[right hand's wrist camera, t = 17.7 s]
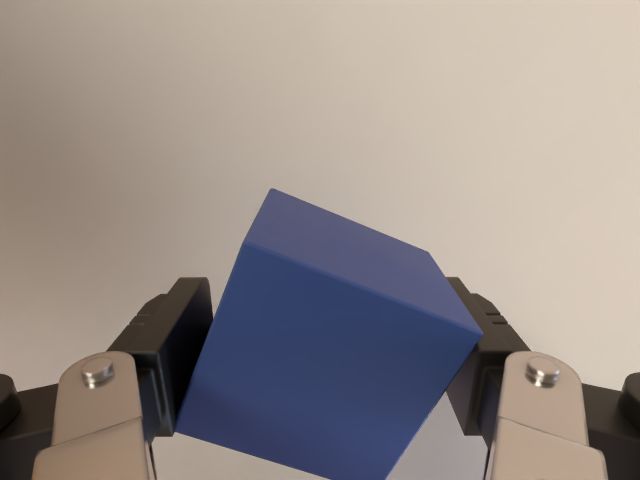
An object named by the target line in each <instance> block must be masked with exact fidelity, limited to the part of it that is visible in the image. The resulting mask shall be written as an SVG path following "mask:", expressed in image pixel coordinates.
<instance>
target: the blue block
mask: <svg viewBox="0 0 640 480" xmlns="http://www.w3.org/2000/svg"><path fill="white" fill-rule="evenodd" d="M482 336H483V332H482V330H481V329H480V327H479V326H478V324H477V323H476V322H475V320H474V319H473V317H472V316H471V314H470V313H469V311H468V310H467V308H466V307H465V305H464V304H463V302H462V301H461V299H460V298H459V296H458V295H457V293H456V292H455V290H454V289H453V288H452V286H451V285H450V283H449V282H448V280H447V279H446V277H445V276H444V274H443V273H442V271H441V270H440V268H439V267H438V265H437V264H436V262H435V261H434V259H433V258H432V256H431V255H430V254H429V252H427V251H424V250H422V249H420V248H417V247H415V246H412V245H410V244H407V243H405V242H402V241H400V240H398V239H395V238H393V237H390V236H388V235H385V234H383V233H381V232H378V231H376V230H373V229H371V228H368V227H366V226H363V225H361V224H359V223H356V222H354V221H351V220H349V219H346V218H344V217H342V216H339V215H337V214H334V213H332V212H329V211H327V210H324V209H322V208H320V207H317V206H315V205H312V204H310V203H307V202H305V201H303V200H300V199H298V198H295V197H293V196H290V195H288V194H285V193H283V192H281V191H278V190H276V189H272V188H271V189H270V191H269V192H268V194H267V196H266V198H265V200H264V202H263V204H262V206H261V208H260V210H259V212H258V214H257V216H256V218H255V220H254V222H253V223H252V225H251V227H250V229H249V231H248V233H247V235H246V237H245V239H244V241H243V243H242V246H241V248H240V251H239V253H238V256H237V259H236V261H235V264H234V267H233V269H232V272H231V275H230V277H229V280H228V282H227V285H226V288H225V290H224V293H223V296H222V298H221V301H220V303H219V306H218V309H217V311H216V314H215V317H214V319H213V322H212V325H211V327H210V330H209V332H208V335H207V338H206V340H205V343H204V346H203V348H202V351H201V353H200V356H199V359H198V361H197V364H196V367H195V369H194V372H193V374H192V377H191V380H190V382H189V385H188V388H187V390H186V393H185V396H184V398H183V401H182V403H181V406H180V409H179V411H178V414H177V417H176V426H177V427H176V430H175V432H177V433H181V434H184V435H187V436H191V437H194V438H197V439H200V440H204V441H207V442H210V443H213V444H217V445H220V446H223V447H226V448H230V449H233V450H236V451H239V452H243V453H246V454H249V455H252V456H256V457H259V458H262V459H266V460H269V461H272V462H275V463H279V464H282V465H285V466H288V467H292V468H295V469H298V470H301V471H305V472H308V473H311V474H314V475H318V476H321V477H324V478H328V479H331V480H385V479H386V478H387V477H388V475H389V474H390V472H391V471H392V469H393V468H394V466H395V465H396V463H397V462H398V460H399V459H400V457H401V456H402V454H403V453H404V451H405V450H406V448H407V447H408V445H409V444H410V443H411V441H412V440H413V438H414V437H415V435H416V434H417V432H418V431H419V429H420V428H421V426H422V425H423V423H424V422H425V420H426V419H427V417H428V416H429V414H430V413H431V411H432V410H433V408H434V407H435V406H436V404H437V403H438V401H439V400H440V398H441V397H442V395H443V394H444V392H445V391H446V389H447V388H448V386H449V385H450V383H451V382H452V380H453V379H454V377H455V376H456V374H457V373H458V372H459V370H460V369H461V367H462V366H463V364H464V363H465V361H466V360H467V358H468V357H469V355H470V354H471V352H472V351H473V349H474V346H475V344H477V343H478V342H479V340H480V339H481V338H482Z"/></svg>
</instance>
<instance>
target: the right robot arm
mask: <svg viewBox="0 0 640 480" xmlns="http://www.w3.org/2000/svg"><path fill="white" fill-rule="evenodd" d="M446 279H447V280H448V282H449V283H450V285H451V286H452V288H453V289H454V290H455V292H456V293H457V295H458V296H459V298H460V299H461V301H462V302H463V304H464V305H465V307H466V308H467V310H468V311H469V313H470V314H471V316H472V317H473V319H474V320H475V322H476V323H477V324H478V326H479V327H480V329H481V330H482V332H483V336H482V338H481V339H480V340H479V342H478V343H477V344H475V346H474V349H473V351H472V352H471V354H470V355H469V357H468V358H467V360H466V361H465V363H464V364H463V366H462V367H461V369H460V370H459V372H458V373H457V374H456V376H455V377H454V379H453V380H452V382H451V383H450V385H449V386H448V388H447V389H446V393H447V395H448V397H449V400H450V402H451V405H452V407H453V409H454V412H455V414H456V416H457V419H458V421H459V424H460V426H461V428H462V431H463V433H464V435H465V436H483V439H484V441H485V443H486V445H487V447H488V449H487V454H486V460H485V466H484V472H483V478H482V480H640V372H639V373H633V374H630V375H629V376H627V378H626V379H625V382H624V385H623V388H622V391H616V390H612V389H607V388H602V387H597V386H592V385H587V384H583V383H581V380H580V378H579V376H578V374H577V373H576V372H575V371H574V370H573V369H572V368H571V367H570V366H568V365H567V364H565V363H564V362H562V361H560V360H558V359H556V358H554V357H552V356H549V355H546V354H543V353H538V352H532V351H531V350H530V349H529V348H528V347H527V345H526V344H525V343H524V342H523V340H522V339H521V338H520V337H519V336H518V334H517V333H516V332H515V331H514V329H513V328H512V327H511V326H510V325H508V322H507V321H506V320H505V318H504V317H503V316H501V315H500V312H499V311H498V310H497V309H496V307H495V306H494V305H493V304H492V303H491V302H490V301H488V300H487V299H485V298H483V297H482V296H480V295H479V294H470V292H469V291H468V290H467V288H466V287H465V286H464V284H463V283H462V282H461V280H460V279H459V278H458V277H446ZM212 322H213V312H212V303H211V294H210V286H209V281H208V279H207V278H206V277H181V278H179V279H178V280H177V282H176V283H175V284H174V286H173V287H172V288H171V290H170V291H169V292H168V293H167V294H160V295H158V296H157V297H155V298H153V299H152V300H150V301H149V302H147V303H146V304H145V305H144V306H143V307H142V308H141V310H140V311H139V312H138V313H137V316H135V317H134V318H133V319H132V321H131V322H130V325H127V327H126V328H125V329H124V330H123V331H122V333H121V334H120V335H119V336H118V338H117V339H116V340H115V341H114V342H113V344H112V345H111V346H110V347H109V348H108V350H107V351H106V352H102V353H97V354H94V355H91V356H88V357H86V358H84V359H82V360H80V361H78V362H76V363H75V364H73V365H72V366H70V367H69V368H68V369H67V370H66V371H65V372H64V373H63V374H62V376H61V378H60V380H59V383H57V384H53V385H49V386H44V387H39V388H35V389H30V390H25V391H20V392H17V391H16V388H15V385H14V382H13V380H12V378H11V377H9V376H7V375H5V374H0V480H158V478H157V472H156V466H155V460H154V454H153V449H152V441H153V439H154V437H173V434H174V432H175V430H176V427H177V426H176V417H177V414H178V411H179V409H180V406H181V403H182V401H183V398H184V396H185V393H186V390H187V388H188V385H189V382H190V380H191V377H192V374H193V372H194V369H195V367H196V364H197V361H198V359H199V356H200V353H201V351H202V348H203V346H204V343H205V340H206V338H207V335H208V332H209V330H210V327H211V325H212Z"/></svg>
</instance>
